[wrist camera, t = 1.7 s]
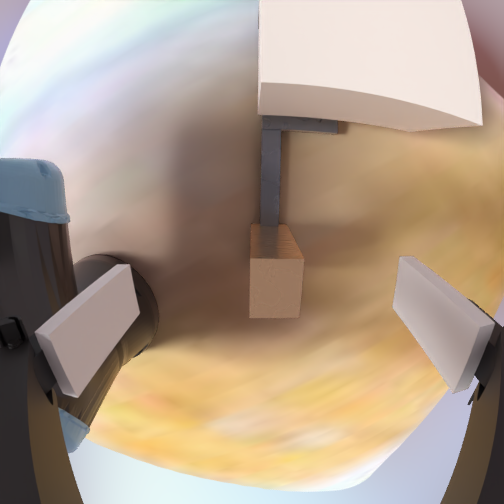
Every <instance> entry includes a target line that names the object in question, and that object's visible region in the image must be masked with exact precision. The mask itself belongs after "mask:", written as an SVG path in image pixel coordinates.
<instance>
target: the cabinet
mask: <svg viewBox="0 0 504 504" xmlns="http://www.w3.org/2000/svg"><path fill="white" fill-rule="evenodd" d="M258 29H259V62H258V115H277V116H296V117H310V118H321V119H331V120H340V121H348V122H355V123H362V124H369V125H375V126H381V127H387V128H392V129H398V130H403V131H408V132H415V131H424V130H433V129H444V128H455V127H470V126H483V124H482V107H481V95H480V86H479V78H478V71H477V66H476V59H475V53H474V49H473V43H472V39H471V35H470V30H469V27H468V23H467V19H466V15H465V12H464V9H463V5H462V2H461V0H259V15H258Z"/></svg>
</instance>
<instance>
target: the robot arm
mask: <svg viewBox="0 0 504 504" xmlns="http://www.w3.org/2000/svg"><path fill="white" fill-rule="evenodd" d="M69 222H70V216H69V214H68V213H67V208H66V199H65V188H64V179H63V175H62V172H61V171H60V169H59V168H58V167H57V166H56V165H55V164H54V163H52V162H49V161H46V160H38V159H23V158H0V504H84V503H83V501H82V498H81V495H80V492H79V489H78V487H77V484H76V481H75V477H74V474H73V471H72V467H71V464H70V460H69V456H68V453H71V452H74V451H75V450H76V449H77V447H78V446H79V445H80V443H81V442H82V440H83V439H84V438H85V436H86V435H87V434H88V433H89V431H90V429H89V427H90V425H91V423H92V421H93V419H94V417H95V415H96V414H97V412H98V410H99V408H100V406H101V404H102V402H103V400H104V398H105V396H106V394H107V393H108V391H109V389H110V387H111V385H112V383H113V381H114V380H115V378H116V376H117V374H118V372H119V371H120V369H121V367H122V366H123V365H125V364H126V363H128V362H129V361H130V360H131V359H132V358H134V357H136V356H138V355H139V354H141V353H142V352H143V351H144V350H145V349H146V348H147V347H148V346H149V344H150V343H151V341H152V339H153V337H154V335H155V333H156V331H157V327H158V322H159V314H158V307H157V303H156V300H155V298H154V295H153V293H152V291H151V289H150V288H149V286H148V284H147V283H146V282H145V280H144V279H143V278H142V277H141V276H140V275H139V274H138V273H137V272H136V271H135V270H134V269H133V268H132V267H130V264H126V263H124V262H122V261H121V260H118V259H116V258H113V257H110V256H106V255H92V256H88V257H85V258H83V259H81V260H80V261H78V262H77V263H75V264H74V265H73V261H72V254H71V247H70V239H69V230H68V223H69ZM392 308H393V309H394V310H395V312H396V313H397V314H398V316H399V317H400V318H401V320H402V321H403V322H404V324H405V325H406V326H407V328H408V329H409V330H410V332H411V333H412V335H413V336H414V337H415V339H416V340H417V341H418V343H419V344H420V346H421V347H422V349H423V350H424V351H425V353H426V354H427V356H428V357H429V359H430V360H431V361H432V363H433V364H434V366H435V367H436V369H437V370H438V372H439V373H440V375H441V376H442V378H443V379H444V381H445V382H446V384H447V385H448V387H449V388H450V390H451V392H452V393H456V392H460V391H463V390H466V389H468V388H469V386H470V384H471V382H472V380H473V378H474V376H476V378H477V379H478V380H479V383H478V385H477V387H476V389H475V391H474V393H473V395H472V397H471V398H470V400H469V402H468V405H470V404H471V402H472V401H473V404H472V409H471V414H470V418H469V422H468V426H467V430H466V434H465V437H464V441H463V444H462V448H461V451H460V454H459V457H458V460H457V463H456V466H455V469H454V472H453V475H452V477H451V480H450V482H449V485H448V487H447V490H446V492H445V494H444V497H443V499H442V501H441V503H440V504H504V327H502V326H501V325H499V324H498V323H497V322H496V321H495V320H494V319H493V318H492V317H491V316H489V315H488V314H487V313H485V311H484V310H482V309H481V308H479V306H478V305H477V304H475V303H474V302H473V301H472V300H470V299H468V298H466V297H465V296H463V295H462V294H461V293H460V292H459V291H457V290H456V289H455V288H454V287H452V286H451V285H450V284H449V283H447V282H446V281H445V280H444V279H442V278H441V277H440V276H439V275H437V274H436V273H435V272H433V271H432V270H431V269H429V268H428V267H427V266H425V265H424V264H423V263H421V262H420V261H419V260H417V259H416V258H415V257H413V256H400V257H399V265H398V273H397V280H396V287H395V294H394V300H393V306H392Z"/></svg>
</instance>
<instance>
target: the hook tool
mask: <svg viewBox="0 0 504 504" xmlns="http://www.w3.org/2000/svg"><path fill="white" fill-rule="evenodd" d="M281 131H291V132H307V133H320V134H331V135H334V134H337V133H338V120H331V119H321V118H310V117H296V116H277V115H262V136H261V195H260V224H251V241H250V300H249V318H299V316H300V306H301V295H302V284H303V272H304V257H303V255H302V253H301V251H300V249H299V247H298V246H297V244H296V242H295V240H294V238H293V236H292V234H291V232H290V230H289V228H288V226H287V224H279V199H280V161H281Z"/></svg>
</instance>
